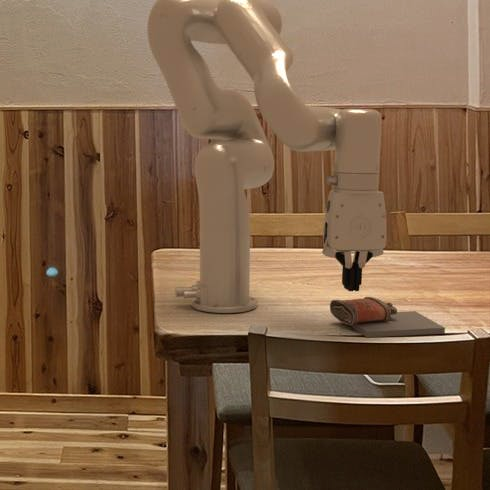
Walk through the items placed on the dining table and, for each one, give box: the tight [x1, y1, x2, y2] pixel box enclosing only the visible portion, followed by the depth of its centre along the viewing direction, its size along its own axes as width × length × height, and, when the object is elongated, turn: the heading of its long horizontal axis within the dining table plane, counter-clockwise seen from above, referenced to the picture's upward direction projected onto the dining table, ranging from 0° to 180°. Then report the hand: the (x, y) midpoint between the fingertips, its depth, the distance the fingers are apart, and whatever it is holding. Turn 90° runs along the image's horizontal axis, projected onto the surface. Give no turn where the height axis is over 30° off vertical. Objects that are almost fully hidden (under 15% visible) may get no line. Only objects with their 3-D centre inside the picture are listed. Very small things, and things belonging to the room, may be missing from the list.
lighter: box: [329, 296, 398, 326], centre depth 141 cm, size 8×3×10 cm
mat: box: [348, 310, 446, 338], centre depth 140 cm, size 14×12×1 cm
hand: (351, 289), depth 138 cm, fingers closed
